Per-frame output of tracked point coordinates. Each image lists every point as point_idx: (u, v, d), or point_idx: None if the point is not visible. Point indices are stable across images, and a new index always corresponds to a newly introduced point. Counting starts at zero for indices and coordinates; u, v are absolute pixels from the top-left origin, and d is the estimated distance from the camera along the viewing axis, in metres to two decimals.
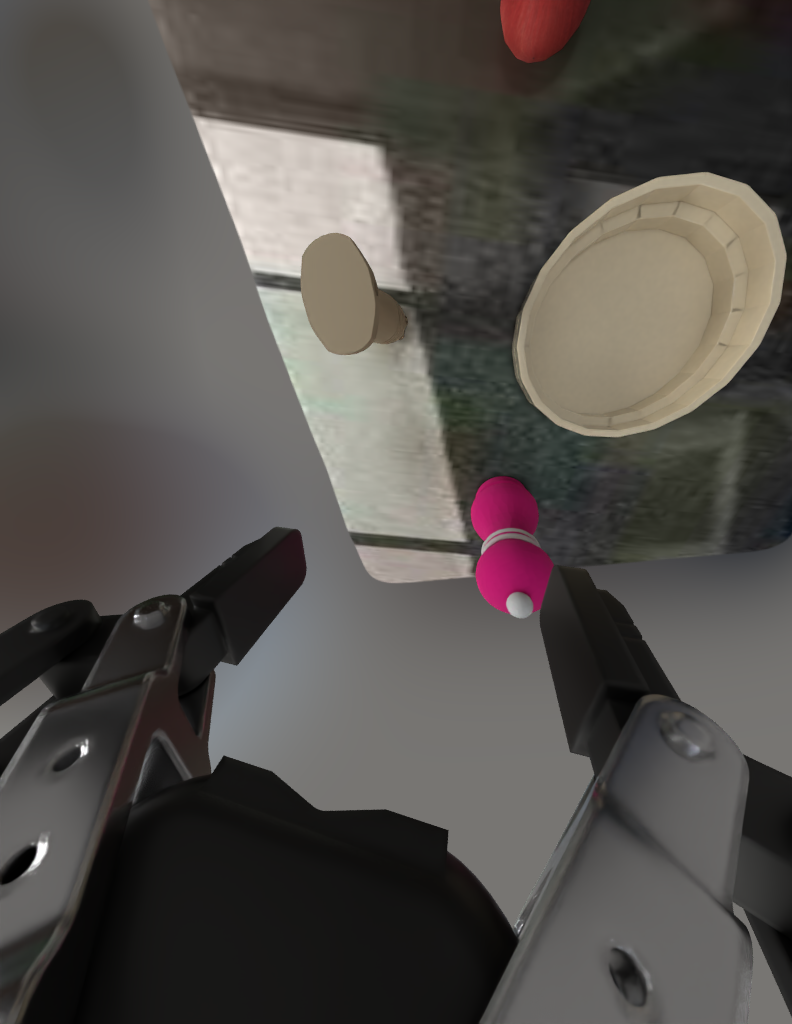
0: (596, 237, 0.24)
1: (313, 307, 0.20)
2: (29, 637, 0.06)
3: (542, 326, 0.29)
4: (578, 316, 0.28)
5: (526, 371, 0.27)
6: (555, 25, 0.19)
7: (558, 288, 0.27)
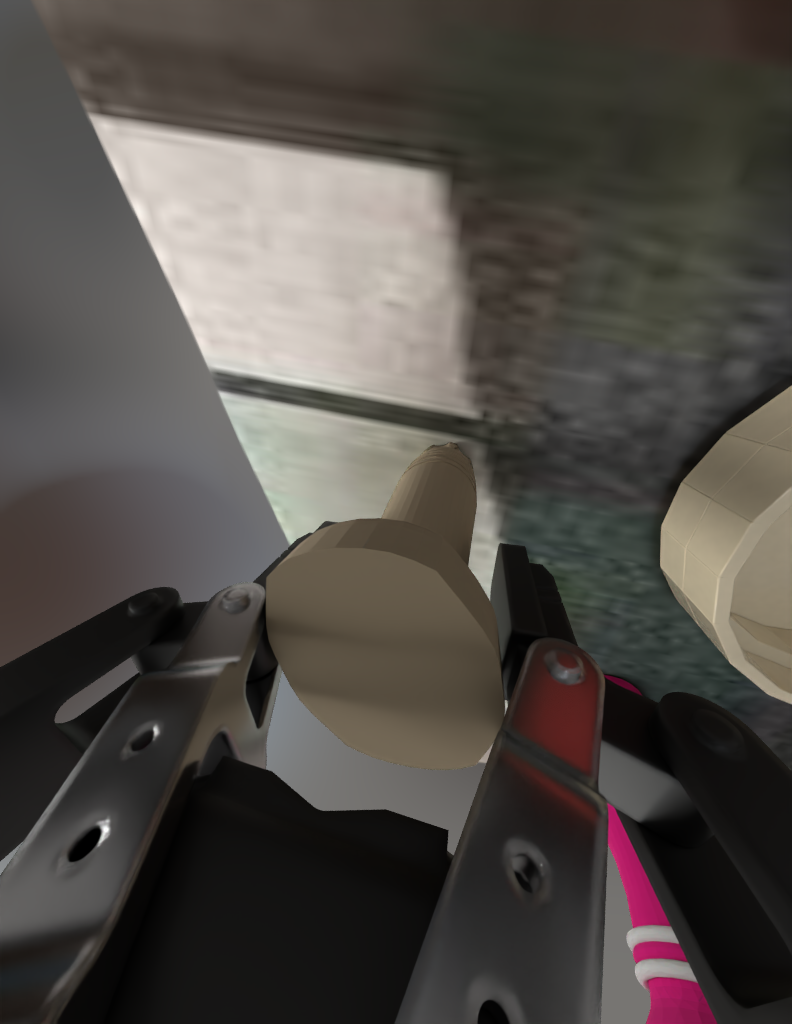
0: None
1: (306, 673, 0.07)
2: (124, 619, 0.06)
3: None
4: None
5: (728, 615, 0.13)
6: None
7: None
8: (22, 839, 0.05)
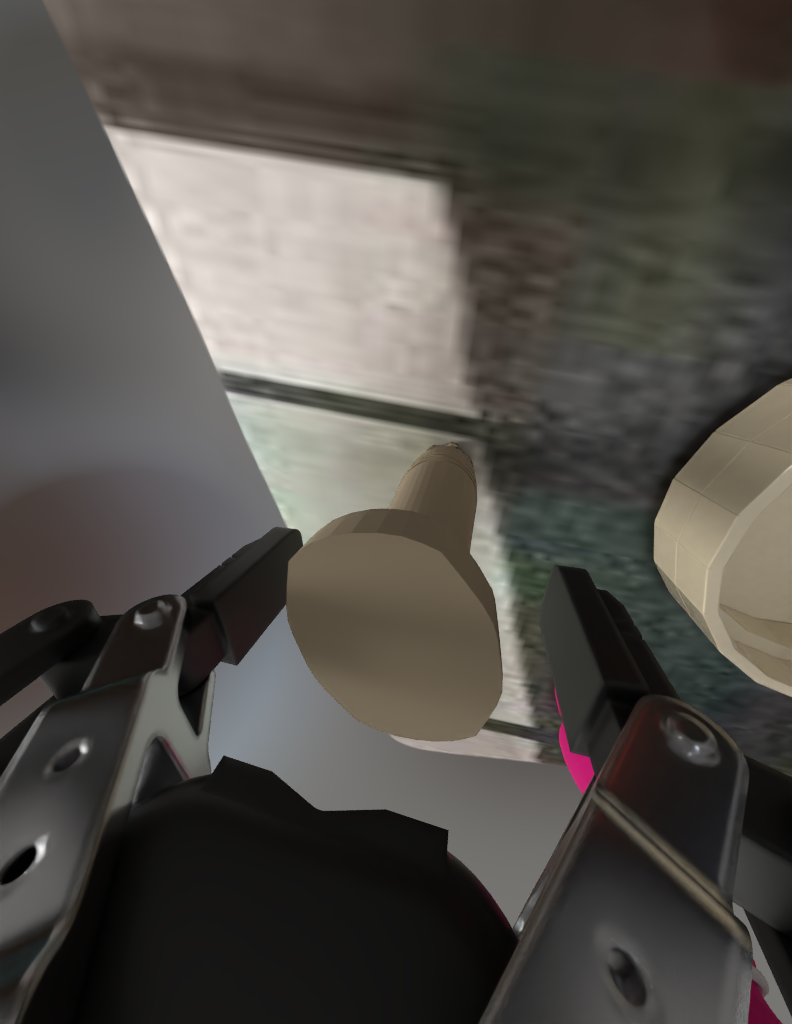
0: None
1: (321, 652, 0.07)
2: (29, 638, 0.06)
3: None
4: None
5: (716, 605, 0.14)
6: None
7: None
8: None
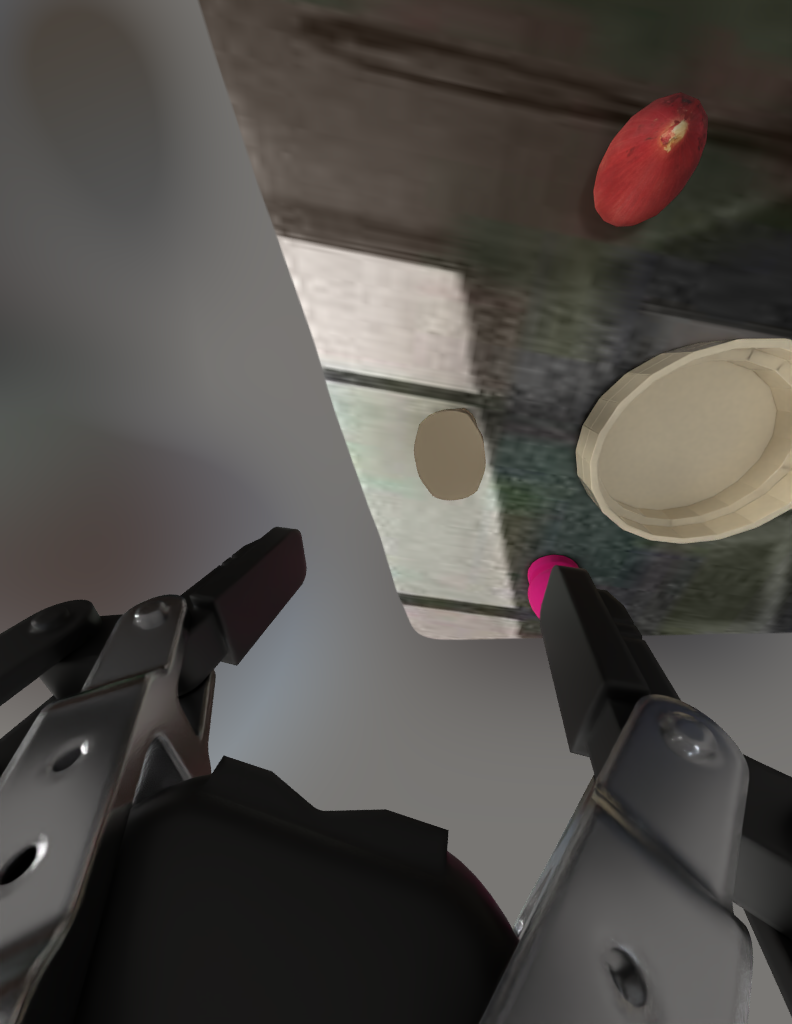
0: (670, 372, 0.25)
1: (424, 462, 0.22)
2: (29, 637, 0.06)
3: (607, 433, 0.30)
4: (643, 427, 0.29)
5: (597, 484, 0.28)
6: (650, 210, 0.20)
7: None
8: None
